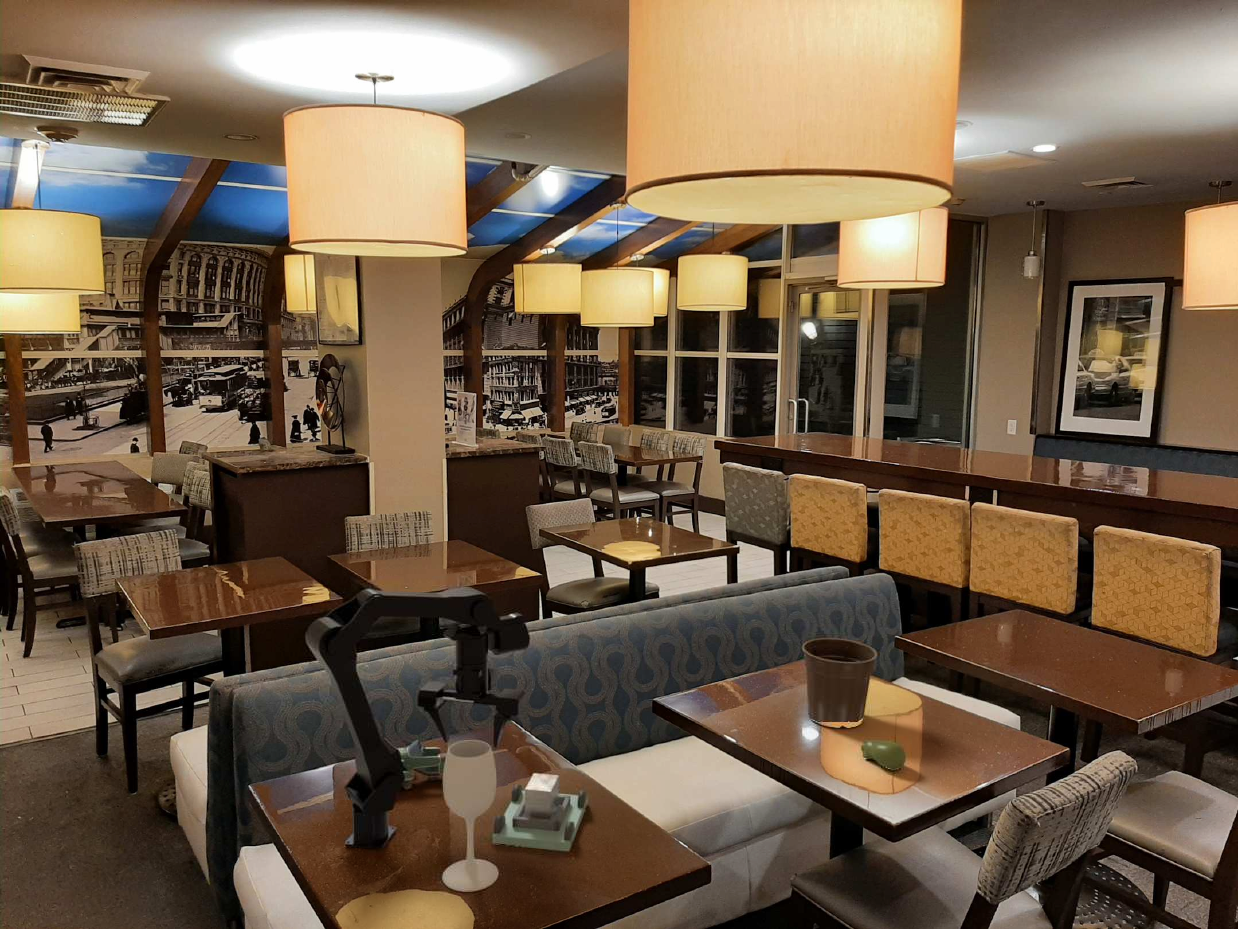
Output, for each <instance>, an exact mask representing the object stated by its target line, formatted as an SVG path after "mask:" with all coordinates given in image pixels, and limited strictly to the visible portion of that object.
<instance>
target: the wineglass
mask: <svg viewBox="0 0 1238 929" xmlns="http://www.w3.org/2000/svg"><path fill="white" fill-rule="evenodd" d="M446 753H447V755H446V759H445V765H444V772H443V776H442V791H443V792H442V793H443V798H444V801H445V804H446V805H447V807H448V808H449V810H451V812H452V813H453V814H455V815H457V816H458V817H460V818H463V819H464V820H465V824H466V834H467V835H466V838H467V839H466V844H467V845H466V857H465V858H466V859H463V860H460V861H457V862H454V863H453V864H451V865H449V866H448V867H447V868H446V869H445V870H444V872H443V873H442V878H441V879H442V882H443V883H444V885H445V886H446V887H447V888H449V889H450V890H453V891H457V892H462V893H463V892H465V893H466V892H467V893H468V892H470V893H471V892H475V891H476V892H477V891H481V890H483V889H487V888H488V887H490V886H492V885H493V884H494V883H496V881H497V879H498V878H499V874H500V873H499V869H498V867H497V866H496V864H493V863H492V862H490V861H488V860H485V859H479V858H475V852H474V851H475V850H474V849H475V848H474V846H475V845H474V827H475V821H476V818H478V817H479V816H482V815H483V814H484V813H485V812H486V811H487V810H488V809H489V808H490V807H491V805H492V803H493V802H494V800H495V796H496V791H497V769H496V763H495V756H494V755H493V749H492V747H491V745H490V744H489V743H487V742H486V741H483V740H479V739H465V740H460V741H456V742H455V743H453V744H451V745H449V747H448V749H447V751H446Z"/></svg>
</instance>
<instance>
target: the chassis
mask: <svg viewBox="0 0 1238 929" xmlns="http://www.w3.org/2000/svg"><path fill="white" fill-rule="evenodd" d="M588 799H589V798H588V792H587V791H586V790H582V789H581V790H579V791H578V795H576V794H567V793H559V808H558V810H557V812H556V814H555V817H554V819H553V820H547V819H537V818H526V817H525V790H523V787H522V785H521V784H514V785H513V788H512V790H511V801H510V803H509V805H508V807H507V809H506V810H505V813H504V814H497V815H496V817H495V820H494V825H493V834H492V844H493V843H499V844H507V845H506V846H509V845H515V846H514V847H519V846H521V847H520V848H528V849H529V848H532V849H538V850H539V849H540V850H551V851H560V852H570V850H571V848H572V845H573V842H574V841H575V837H576V835H577V832H578V830H579V827H580V824H581V822H582V819H583V817H584V814H585V812H586V809H587V807H586V806H588V804H589V803H588ZM587 803H588V804H587ZM585 808H586V809H585ZM499 844H498V845H499Z"/></svg>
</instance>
